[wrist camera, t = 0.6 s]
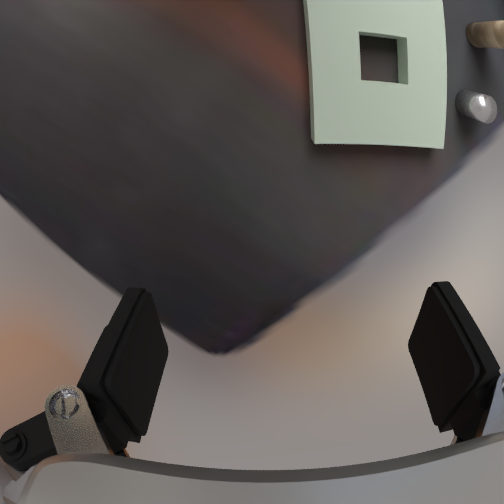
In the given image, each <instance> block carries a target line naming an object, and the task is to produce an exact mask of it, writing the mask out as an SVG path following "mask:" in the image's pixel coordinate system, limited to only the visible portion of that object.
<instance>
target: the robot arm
mask: <svg viewBox="0 0 504 504" xmlns="http://www.w3.org/2000/svg"><path fill="white" fill-rule="evenodd" d="M408 348H409V352H410V355H411V357H412V360H413V363H414V365H415V368H416V371H417V374H418V376H419V380H420V382H421V385H422V388H423V391H424V394H425V397H426V400H427V404H428V407H429V410H430V413H431V416H432V420H433V422H434V424H435V425H436V426H438V428H439V431H440V433H441V432H445V431H449V430H452V429H453V430H454V434H455V435H454V438H453V440H452V442H451V444H450V446H447V447H442V448H438V449H435V450H431V451H426V452H422V453H418V454H414V455H409V456H404V457H399V458H394V459H389V460H384V461H377V462H371V463H364V464H356V465H349V466H340V467H330V468H319V469H302V470H231V469H215V468H202V467H193V466H183V465H175V464H167V463H160V462H153V461H147V460H141V459H135V458H130V456H129V454H128V453H127V451H126V449H125V448H126V447H127V443H128V441H132V442H137V443H140V439H141V436H145V435H146V433H147V430H148V426H149V422H150V418H151V414H152V411H153V407H154V403H155V399H156V396H157V392H158V389H159V385H160V382H161V378H162V374H163V370H164V367H165V364H166V361H167V357H168V346H167V343H166V340H165V337H164V334H163V330H162V327H161V324H160V321H159V318H158V315H157V311H156V308H155V305H154V301H153V298H152V295H151V293H149V292H147V291H146V289H145V288H128V289H127V290H126V292H125V294H124V295H123V297H122V299H121V301H120V303H119V305H118V307H117V309H116V311H115V313H114V314H113V316H112V318H111V320H110V322H109V324H108V325H107V326H106V327H105V328H104V330H103V332H102V334H101V336H100V338H99V340H98V342H97V344H96V346H95V348H94V350H93V352H92V355H91V357H90V359H89V361H88V363H87V365H86V367H85V369H84V372H83V373H82V376H81V378H80V380H79V382H78V384H77V387H75V386H72V385H64V386H61V387H58V388H56V389H55V390H53V391H52V392H51V393H50V394H49V396H48V398H47V399H46V402H45V411H44V412H42V413H40V414H38V415H37V416H34V417H33V418H31V419H29V420H27V421H25V422H23V423H21V424H19V425H17V426H15V427H13V428H11V429H9V430H7V431H6V432H5V433H4V434H3V435H2V437H1V439H0V504H504V373H502V374H500V372H499V369H500V367H499V365H498V363H497V361H496V359H495V357H494V355H493V353H492V351H491V350H490V348H489V346H488V344H487V342H486V340H485V339H484V337H483V335H482V334H481V332H480V330H479V328H478V326H477V325H476V323H475V321H474V320H473V318H472V317H471V315H470V313H469V311H468V310H467V308H466V307H465V305H464V304H463V302H462V300H461V299H460V297H459V296H458V294H457V292H456V291H455V289H454V288H453V286H452V285H451V284H450V282H448V281H444V282H434V283H433V284H432V285H431V287H429V288H428V289H427V291H426V294H425V297H424V301H423V304H422V306H421V309H420V312H419V315H418V318H417V320H416V323H415V326H414V329H413V331H412V334H411V336H410V339H409V343H408Z"/></svg>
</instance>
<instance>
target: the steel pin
mask: <svg viewBox="0 0 504 504" xmlns="http://www.w3.org/2000/svg"><path fill="white" fill-rule="evenodd" d="M455 105H456V108H457V110H458V112H459V113H460V114H462V115H464V116H467V117H470V118H473V119H476V120H479V121H481V122H484V123H491V122H493V121H494V119H495V118H496V115H497V106H496V103H495V101H494V99H493V98H492V97H491V96H489V95H485V94H481V93H477V92H472V91H467V90H461V91H460V92H458V94H457V95H456V98H455Z"/></svg>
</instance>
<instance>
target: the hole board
mask: <svg viewBox="0 0 504 504" xmlns="http://www.w3.org/2000/svg"><path fill="white" fill-rule="evenodd" d="M303 5H304V16H305V28H306V41H307V56H308V72H309V93H310V118H311V139H312V141H313V142H314V144H373V145H396V146H413V147H427V148H439V149H443V148H444V137H445V123H446V101H447V56H446V36H445V23H444V12H443V3H442V0H303ZM359 35H364V36H374V37H382V38H390V39H397V55H398V83H390V82H380V81H367V80H361V66H360V45H359Z"/></svg>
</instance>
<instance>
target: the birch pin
mask: <svg viewBox="0 0 504 504" xmlns="http://www.w3.org/2000/svg"><path fill="white" fill-rule="evenodd" d="M466 35H467V38H468V40H469V42H470V43H471V44H472V45H473V46H475V47H479V48H504V21H489V22H477V23H470V24H468V25H467V27H466Z"/></svg>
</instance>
